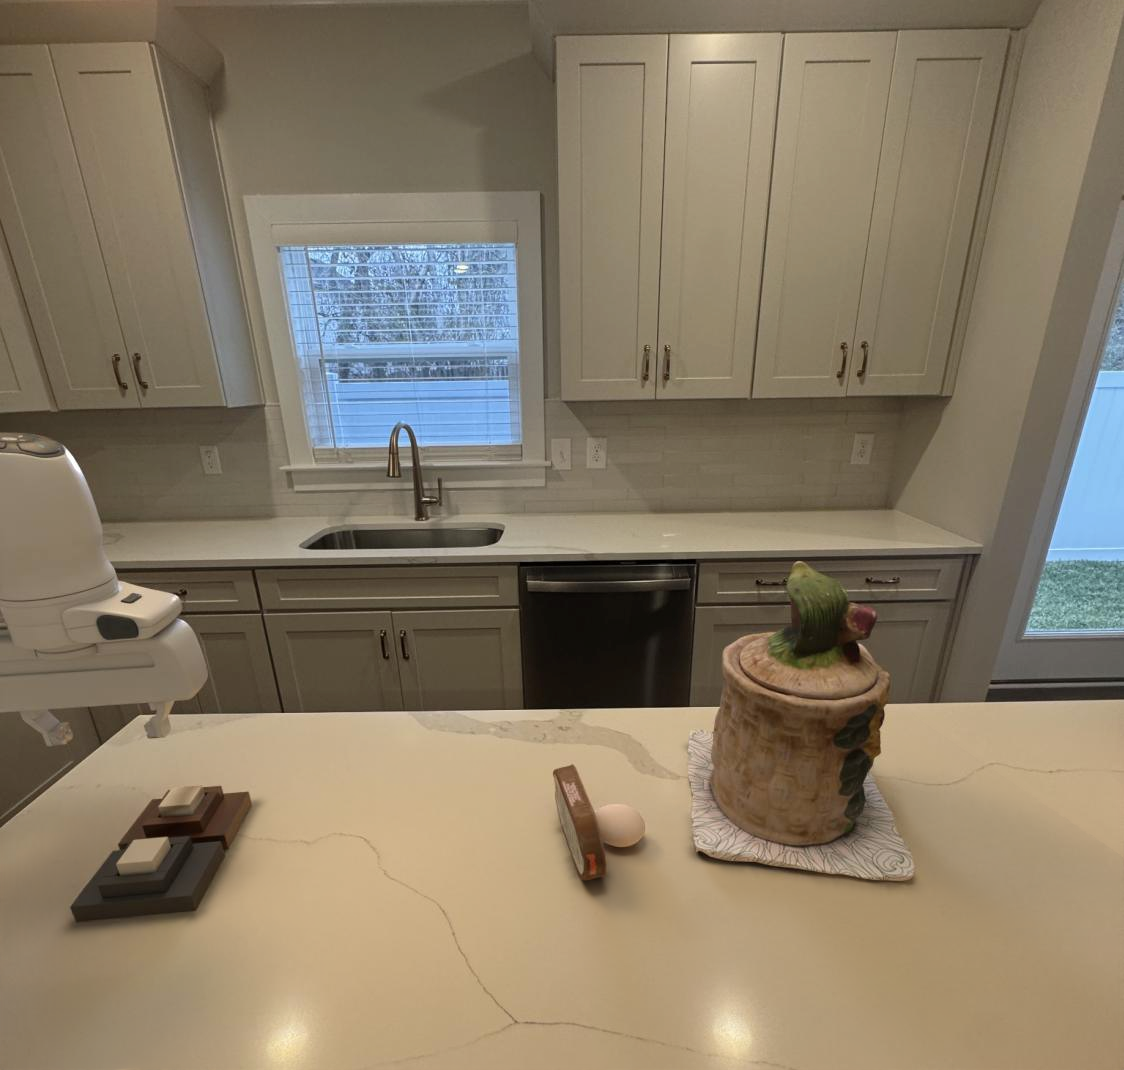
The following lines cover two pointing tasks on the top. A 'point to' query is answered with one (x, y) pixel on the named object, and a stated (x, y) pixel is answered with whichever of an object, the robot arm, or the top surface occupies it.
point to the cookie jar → (799, 745)
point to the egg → (620, 825)
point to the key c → (144, 856)
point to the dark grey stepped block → (151, 884)
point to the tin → (579, 824)
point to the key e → (182, 801)
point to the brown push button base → (194, 819)
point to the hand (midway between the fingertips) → (111, 738)
